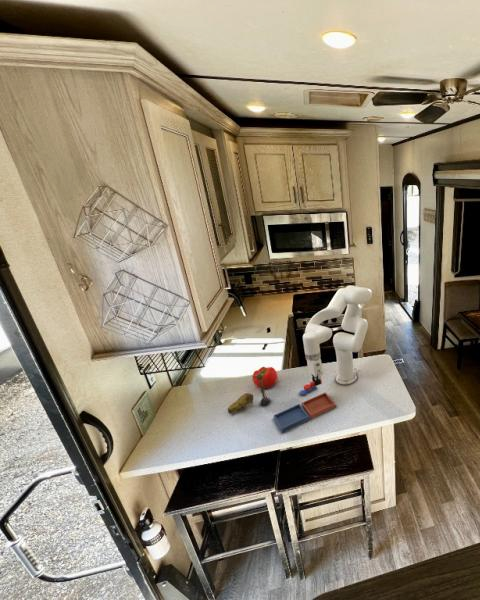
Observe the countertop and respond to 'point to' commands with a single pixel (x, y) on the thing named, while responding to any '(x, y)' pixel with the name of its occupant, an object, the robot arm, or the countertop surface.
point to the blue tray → (291, 418)
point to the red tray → (318, 405)
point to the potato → (241, 403)
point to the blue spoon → (306, 391)
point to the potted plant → (262, 390)
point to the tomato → (266, 377)
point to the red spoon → (312, 384)
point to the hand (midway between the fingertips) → (316, 383)
